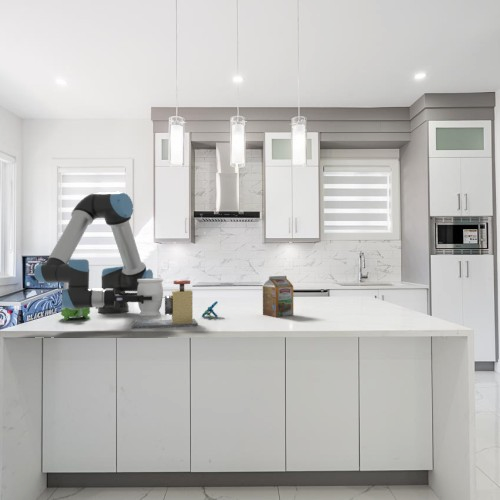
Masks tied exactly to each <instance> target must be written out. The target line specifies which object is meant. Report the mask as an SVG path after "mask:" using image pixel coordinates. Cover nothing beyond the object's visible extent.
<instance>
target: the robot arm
mask: <svg viewBox="0 0 500 500" xmlns="http://www.w3.org/2000/svg"><path fill="white" fill-rule="evenodd" d="M133 208H134V204H133V201H132V199H131V197H130V196H129V195H128V194H127V193H125V192H122V191H121V192H119V191H113V192H112V191H111V192H94V193H90V194H88V195H86V196H85V197H84V198H82V199H81V200H80V201H79V202H78V203H77V204H76V206H74V208H73V210H72V211H71V215H70V216H71V218H70V219H69V222H68V223H67V225H66V227H65V229H64V230H63V232H62V234H61V236H60V237H59V239H58V241H57V242H56V243H55V246H54V248H53V249H52V251H51V253H50V254H49V257H47V260H46V262H45V263H40V264H38V265H36V267H35V268H34V272H33V274H34V279H36V281H38V282H40V283H47V284H48V283H52V284H53V283H57V284H58V283H61V284H62V283H67V284H68V286H67V287H68V288H66V289H63V291H62V292H61V306H62V305H63V307H65V308H90V309H91V308H95V309H96V310H97V312H98V313H101V314H115V313H118V314H119V313H125V312H129V307H130V306H129V303H138V302H141V304H143V303H144V302H153V301H161V294H158V295H137V289H138V284H139V282H138V281H137V279H144V278H154V273H153V270H152V269H150V268H147V266H146V263H145V262H143V261H142V260H141V258H140V253H139V251H138V247H137V244H136V241H135V237H134V233H133V231H132V227H131V224H130V221H131V219H132V218H131V217H132V215H133V213H134V209H133ZM96 219H104V221H105V224H106V225H107V226H110V227H111V232H112V234H113V237H114V240H115V243H116V246H117V249H118V254H119V255H120V258H121V263H122V265H120V266H113V267H112V266H111V267H105V268H103V269H102V271H101V277H100V278H101V288H90V267H89V266H90V264H89V260H88V259H85V258H84V259H83V258H82V259H81V258H80V259H77V258H75V259H71V258H72V256H73V254H74V252H75V250H76V248H77V247H78V245H79V243H80V241H81V239H82V237H83V236H84V234H85V233H86V230H87V229H88V226H89V225H90V226H91V225H92V224H93V222H94V220H96Z"/></svg>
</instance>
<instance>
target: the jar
mask: <svg viewBox="0 0 500 500" xmlns="http://www.w3.org/2000/svg"><path fill="white" fill-rule="evenodd" d="M137 281H138V282H139V284H138V289H137V291H136V293H137V295H158V294H161V301H153V302H144V303H143V304H141V302H137V303H138V308H139V310H140V313H139V316H142V317H154V316H155V317H156V316H159V315H161V312H160V309H161V308H162V303H163V298H164V297H163V296H164V289H163V281H164V280H163V278H159V277H158V278H155V277H153V278H144V279H137Z"/></svg>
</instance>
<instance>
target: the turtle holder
mask: <svg viewBox="0 0 500 500" xmlns="http://www.w3.org/2000/svg"><path fill="white" fill-rule="evenodd" d="M60 310H61V312H60V315H61V316H62V317H63V318H62V321H64V322H65V321H66V322H67V321H69V318H82V317H83V318H84V319H85V320H88V319H89V320H90V319H91V317H90V316H89V315H90V313H91V308H65V307H63V305H62V304H61V308H60Z"/></svg>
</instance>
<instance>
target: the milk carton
mask: <svg viewBox="0 0 500 500" xmlns="http://www.w3.org/2000/svg"><path fill="white" fill-rule="evenodd" d="M262 315H263V316H265V317H267V316H268V317H272V318H283V317H285V318H286V317H292V316H293V317H294V285H293V284H292V283H291V281H290V280H289V279H287V275H273V276H271V275H270V276H268V280H266V281H265V282H264V283H263V284H262Z"/></svg>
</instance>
